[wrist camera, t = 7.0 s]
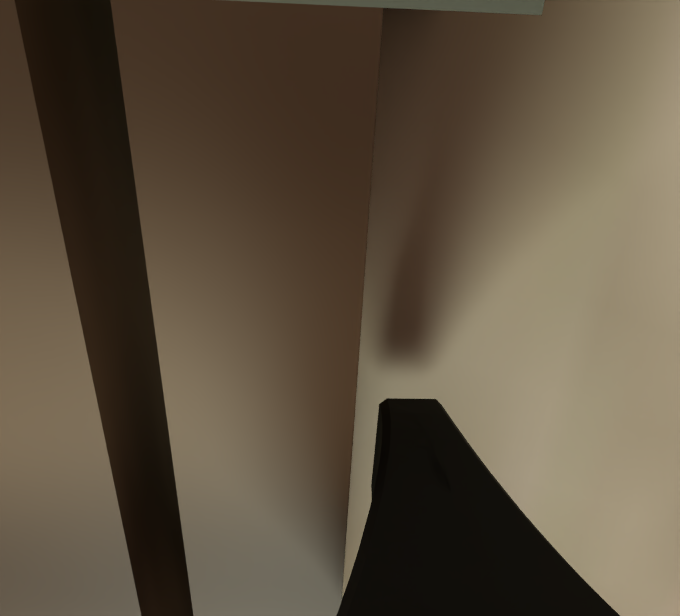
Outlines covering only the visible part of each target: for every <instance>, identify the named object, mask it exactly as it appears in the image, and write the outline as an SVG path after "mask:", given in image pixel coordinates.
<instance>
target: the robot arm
mask: <svg viewBox="0 0 680 616" xmlns="http://www.w3.org/2000/svg"><path fill="white" fill-rule="evenodd" d="M371 488H372V502H371V507H370V510H369V514H368V518H367V521H366V525H365V529H364V532H363V536H362V539H361V543H360V547H359V550H358V554H357V557H356V560H355V563H354V566H353V569H352V573H351V576H350V579H349V581H348V584H347V587H346V590H345V593H344V596H343V599H342V601H341V604H340V607H339V610H338V613H337V615H336V616H620V615H619V614H618V613H617V612H616V611H615V610H614V609H612V608H611V607H610V606H609V605H608V604H607V603H606V602H605V601H604V600H603V599H602V598H601V597H600V596H599V595H598V594H597V593H596V592H595V591H594V590H593V589H592V588H591V587H590V586H589V585H588V584H587V583H586V582H585V581H584V580H583V579H582V578H581V576H580V575H579V574H578V573H577V572H576V571H575V570H574V569H573V568H572V567H571V566H570V565H569V564H568V563H567V562H566V561H565V560H564V558H563V557H562V556H561V555H560V554H559V553H558V552H557V551H556V550H555V549H554V547H553V546H552V545H551V544H550V543H549V542H548V541H547V540H546V538H545V537H544V536H543V535H542V534H541V533H540V532H539V531H538V530H537V528H536V527H535V526H534V525H533V524H532V523H531V521H530V520H529V519H528V518H527V517H526V516H525V514H524V513H523V512H522V511H521V510H520V509H519V507H518V506H517V505H516V504H515V502H514V501H513V500H512V499H511V497H510V496H509V495H508V494H507V492H506V491H505V490H504V489H503V488H502V486H501V485H500V484H499V483H498V481H497V480H496V479H495V478H494V476H493V475H492V474H491V473H490V471H489V470H488V469H487V467H486V466H485V465H484V463H483V462H482V461H481V459H480V458H479V457H478V455H477V454H476V453H475V451H474V450H473V449H472V447H471V446H470V445H469V443H468V442H467V441H466V439H465V438H464V436H463V435H462V434H461V432H460V431H459V429H458V428H457V427H456V425H455V424H454V422H453V421H452V419H451V418H450V417H449V415H448V414H447V412H446V411H445V409H444V408H443V406H442V405H441V404H440V403H439V402H438V401H437V400H436V399H386V400H384V401H383V402H382V403H380V404H379V413H378V423H377V433H376V444H375V454H374V464H373V474H372V485H371Z"/></svg>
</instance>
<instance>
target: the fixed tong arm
mask: <svg viewBox="0 0 680 616" xmlns="http://www.w3.org/2000/svg"><path fill="white" fill-rule="evenodd" d="M0 616H194V615H193V608H192V601H191V593H190V586H189V578H188V571H187V564H186V556H185V549H184V541H183V534H182V527H181V519H180V512H179V504H178V497H177V490H176V482H175V475H174V467H173V460H172V453H171V445H170V438H169V430H168V423H167V416H166V408H165V401H164V393H163V386H162V379H161V371H160V364H159V356H158V349H157V342H156V334H155V327H154V319H153V312H152V304H151V297H150V290H149V282H148V275H147V267H146V260H145V253H144V245H143V238H142V230H141V223H140V216H139V208H138V201H137V193H136V186H135V179H134V171H133V164H132V156H131V149H130V142H129V134H128V127H127V119H126V112H125V105H124V97H123V90H122V82H121V75H120V68H119V60H118V53H117V45H116V38H115V31H114V23H113V16H112V8H111V1H110V0H0Z"/></svg>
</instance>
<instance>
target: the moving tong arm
mask: <svg viewBox="0 0 680 616" xmlns="http://www.w3.org/2000/svg"><path fill="white" fill-rule="evenodd" d="M110 1H111V8H112V16H113V23H114V31H115V38H116V45H117V53H118V60H119V68H120V75H121V82H122V90H123V97H124V105H125V112H126V119H127V127H128V134H129V142H130V149H131V156H132V164H133V171H134V179H135V186H136V193H137V201H138V208H139V216H140V223H141V230H142V238H143V245H144V253H145V260H146V267H147V275H148V282H149V290H150V297H151V304H152V312H153V319H154V327H155V334H156V342H157V349H158V356H159V364H160V371H161V379H162V386H163V393H164V401H165V408H166V416H167V423H168V430H169V438H170V445H171V453H172V460H173V467H174V475H175V482H176V490H177V497H178V504H179V512H180V519H181V527H182V534H183V541H184V549H185V556H186V564H187V571H188V578H189V586H190V593H191V601H192V608H193V615H194V616H336V615H337V613H338V610H339V607H340V604H341V601H342V587H343V573H344V559H345V544H346V530H347V516H348V502H349V488H350V474H351V460H352V446H353V431H354V417H355V403H356V389H357V375H358V361H359V347H360V332H361V318H362V304H363V290H364V276H365V262H366V248H367V233H368V219H369V205H370V191H371V177H372V163H373V149H374V135H375V120H376V106H377V92H378V78H379V64H380V50H381V36H382V21H383V8H399V9H420V10H442V11H463V12H484V13H505V14H527V15H542V11H543V6H544V1H545V0H110Z"/></svg>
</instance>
